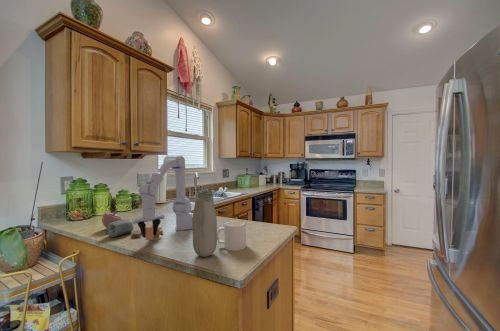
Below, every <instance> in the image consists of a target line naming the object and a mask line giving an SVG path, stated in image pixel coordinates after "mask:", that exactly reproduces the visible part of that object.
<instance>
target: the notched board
mask: <svg viewBox="0 0 500 331" xmlns="http://www.w3.org/2000/svg"><path fill="white" fill-rule="evenodd" d="M163 233H164V232H163V227H162V228H161V229H159V234H160V235H161V236H163ZM141 236H142V232H141V230H140V229H139V230H132V232H131V238H132V239H135V238H141Z"/></svg>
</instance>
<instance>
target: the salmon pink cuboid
mask: <svg viewBox="0 0 500 331" xmlns="http://www.w3.org/2000/svg"><path fill="white" fill-rule="evenodd" d="M145 234H146V237H145V238H144V239H145V241H154V240H153V224H151V225H146V227H145Z"/></svg>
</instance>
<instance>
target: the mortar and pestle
mask: <svg viewBox="0 0 500 331" xmlns="http://www.w3.org/2000/svg"><path fill="white" fill-rule="evenodd" d="M117 213H118V209H115V210H114V212H111V211H110V212H107V211H105V212H104V213H103V215H102V219H101V221H102V222H101V223H102V225H103V226H104V227H105V228H106V227H107V225H108V224H109V223H112V222H115V221H118V220H123V219H126V217H124V216H122V215H118V214H117Z"/></svg>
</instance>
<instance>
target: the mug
mask: <svg viewBox="0 0 500 331" xmlns="http://www.w3.org/2000/svg"><path fill="white" fill-rule="evenodd" d="M220 231H223V240H222V239H220V236H219V233H220ZM217 244H223V245H224V249H225V250H227V251H233V252H235V251H242V250H244V249H245V247H246V248H247V223H246V222H244V221H241V220H232V221H227V222H224V223H223V227H222V226H220V227H218V228H217Z"/></svg>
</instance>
